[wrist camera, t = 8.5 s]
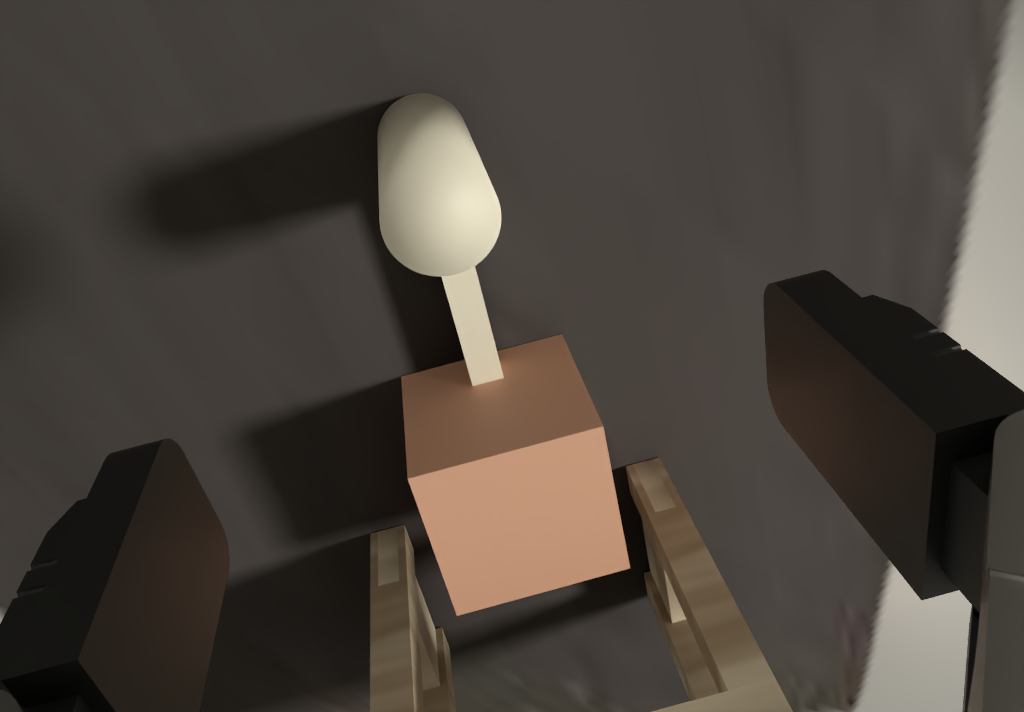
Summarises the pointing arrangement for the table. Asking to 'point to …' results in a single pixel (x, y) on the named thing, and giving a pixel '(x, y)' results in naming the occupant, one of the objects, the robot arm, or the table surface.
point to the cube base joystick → (489, 392)
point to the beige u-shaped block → (670, 587)
